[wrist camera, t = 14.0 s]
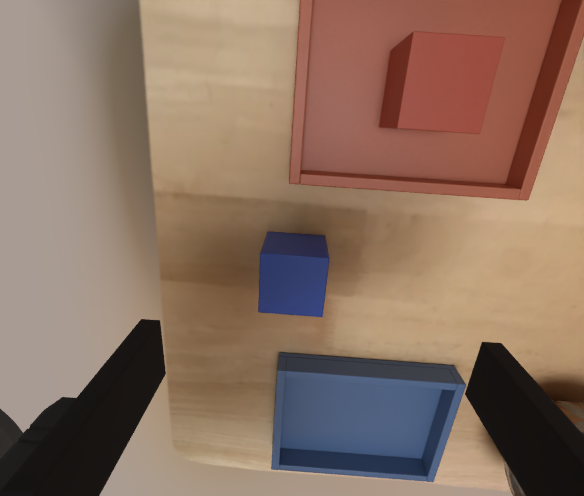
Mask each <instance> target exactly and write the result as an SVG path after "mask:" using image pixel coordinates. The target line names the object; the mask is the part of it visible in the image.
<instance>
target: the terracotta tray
mask: <svg viewBox="0 0 584 496" xmlns="http://www.w3.org/2000/svg"><path fill="white" fill-rule="evenodd" d="M413 31H421V32H436V33H451V34H466V35H481V36H496V37H505V40H504V44H503V48H502V51H501V55H500V59H499V63H498V67H497V71H496V74H495V78H494V82H493V86H492V90H491V94H490V97H489V101H488V105H487V109H486V113H485V116H484V120H483V124H482V128H481V132H480V134H467V133H453V132H439V131H424V130H410V129H396V128H381V127H379V123H380V117H381V110H382V104H383V97H384V91H385V84H386V78H387V71H388V64H389V58H390V51H391V50H392V49H393V48H394V47H395V46H396V45H398V44H399V43H400V42H401V41H402V40H404V39H405V38H406V37H407V36H408V35H410V34H411V33H412V32H413ZM583 37H584V0H300V11H299V27H298V44H297V60H296V77H295V93H294V109H293V126H292V142H291V159H290V175H289V183H290V184H301V185H315V186H329V187H343V188H357V189H372V190H386V191H400V192H414V193H428V194H442V195H456V196H470V197H484V198H498V199H512V200H529V197H530V194H531V191H532V188H533V185H534V182H535V179H536V176H537V173H538V170H539V167H540V164H541V161H542V158H543V155H544V152H545V149H546V146H547V143H548V140H549V137H550V135H551V132H552V129H553V126H554V123H555V120H556V117H557V114H558V111H559V108H560V105H561V102H562V99H563V96H564V93H565V90H566V87H567V84H568V81H569V78H570V75H571V72H572V69H573V66H574V63H575V60H576V57H577V54H578V51H579V48H580V45H581V42H582V39H583Z"/></svg>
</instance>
